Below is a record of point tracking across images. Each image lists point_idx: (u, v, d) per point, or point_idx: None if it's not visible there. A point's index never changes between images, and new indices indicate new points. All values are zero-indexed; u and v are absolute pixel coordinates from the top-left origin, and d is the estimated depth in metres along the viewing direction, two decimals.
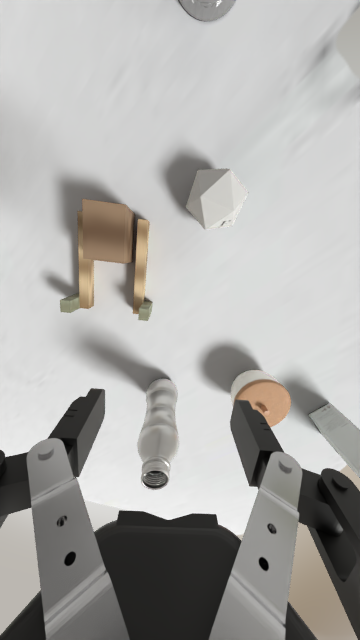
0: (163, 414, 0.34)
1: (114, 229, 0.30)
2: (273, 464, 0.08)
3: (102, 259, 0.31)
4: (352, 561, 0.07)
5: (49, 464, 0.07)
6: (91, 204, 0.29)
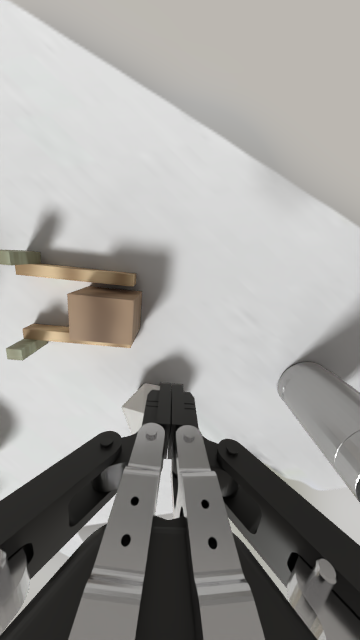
0: None
1: (106, 331, 0.27)
2: (177, 435, 0.09)
3: (70, 316, 0.26)
4: (251, 506, 0.09)
5: (149, 445, 0.09)
6: (128, 309, 0.26)
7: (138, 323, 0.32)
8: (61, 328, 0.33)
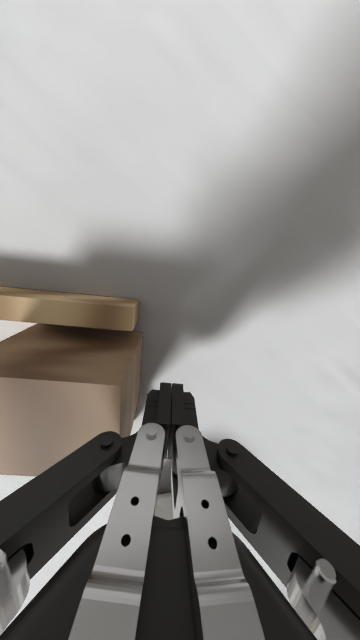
0: None
1: (53, 455, 0.11)
2: (177, 435, 0.09)
3: None
4: (251, 506, 0.09)
5: (149, 445, 0.09)
6: (108, 406, 0.10)
7: (135, 399, 0.16)
8: None
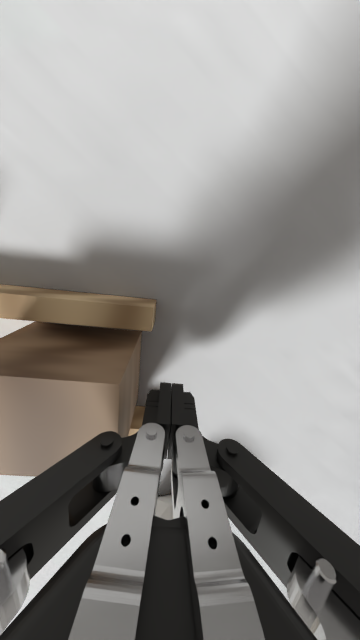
0: None
1: (51, 455, 0.11)
2: (177, 435, 0.09)
3: None
4: (251, 506, 0.09)
5: (149, 445, 0.09)
6: (106, 405, 0.10)
7: (134, 398, 0.16)
8: None
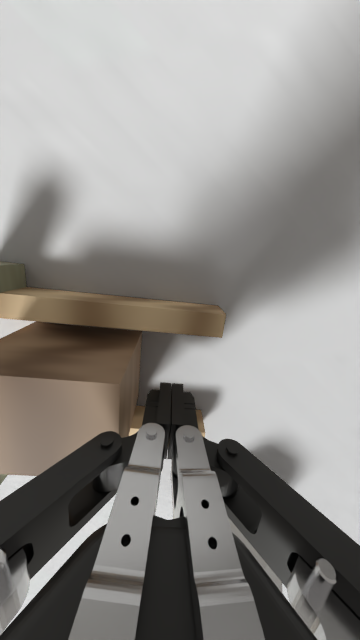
0: None
1: (51, 454, 0.11)
2: (177, 435, 0.09)
3: None
4: (251, 506, 0.09)
5: (149, 445, 0.09)
6: (107, 405, 0.10)
7: (134, 398, 0.16)
8: None
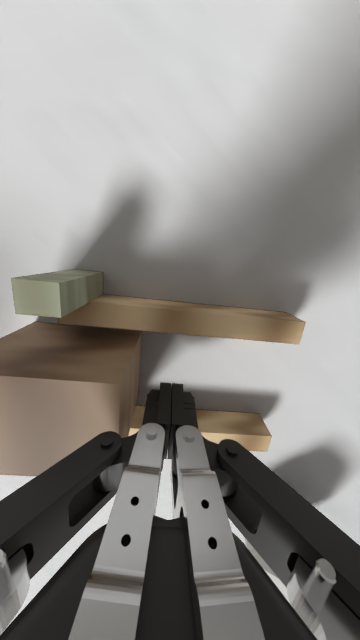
0: None
1: (52, 455, 0.11)
2: (177, 435, 0.09)
3: None
4: (251, 506, 0.09)
5: (149, 445, 0.09)
6: (107, 405, 0.10)
7: (134, 397, 0.16)
8: (134, 413, 0.17)
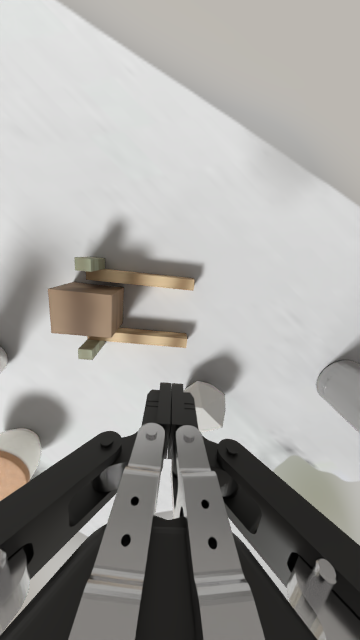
0: None
1: (86, 325, 0.28)
2: (177, 435, 0.09)
3: (51, 310, 0.27)
4: (251, 506, 0.09)
5: (149, 445, 0.09)
6: (107, 303, 0.27)
7: (120, 318, 0.33)
8: (120, 329, 0.35)
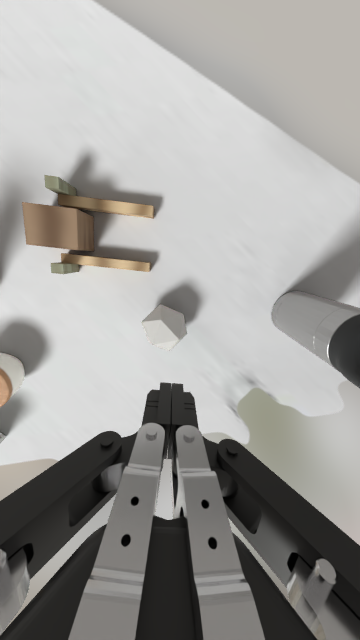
0: None
1: (55, 237, 0.33)
2: (177, 435, 0.09)
3: (25, 222, 0.32)
4: (251, 506, 0.09)
5: (149, 445, 0.09)
6: (73, 217, 0.32)
7: (89, 242, 0.38)
8: (91, 256, 0.39)
